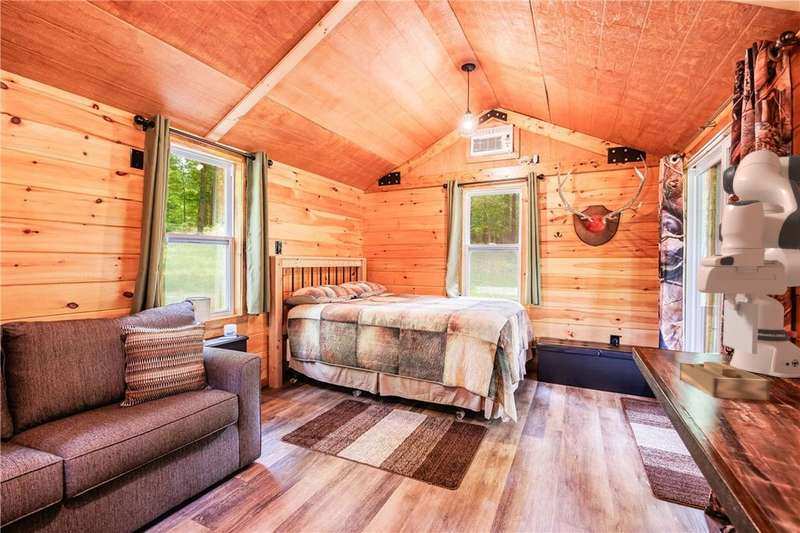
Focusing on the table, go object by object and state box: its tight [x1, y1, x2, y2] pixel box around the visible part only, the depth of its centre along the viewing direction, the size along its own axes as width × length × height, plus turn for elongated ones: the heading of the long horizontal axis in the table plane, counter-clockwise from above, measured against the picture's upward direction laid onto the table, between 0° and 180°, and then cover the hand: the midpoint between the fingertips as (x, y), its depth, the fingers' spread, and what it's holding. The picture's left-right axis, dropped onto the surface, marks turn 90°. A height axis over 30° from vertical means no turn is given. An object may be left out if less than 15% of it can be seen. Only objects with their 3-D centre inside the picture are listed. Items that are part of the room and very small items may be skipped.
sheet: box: [722, 299, 759, 354], centre depth 101 cm, size 1×10×13 cm, turn 173°
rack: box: [679, 362, 771, 401], centre depth 102 cm, size 13×14×6 cm
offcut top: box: [703, 361, 737, 378], centre depth 102 cm, size 4×7×2 cm, turn 173°
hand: (740, 310), depth 101 cm, fingers closed on sheet, 1 cm apart
